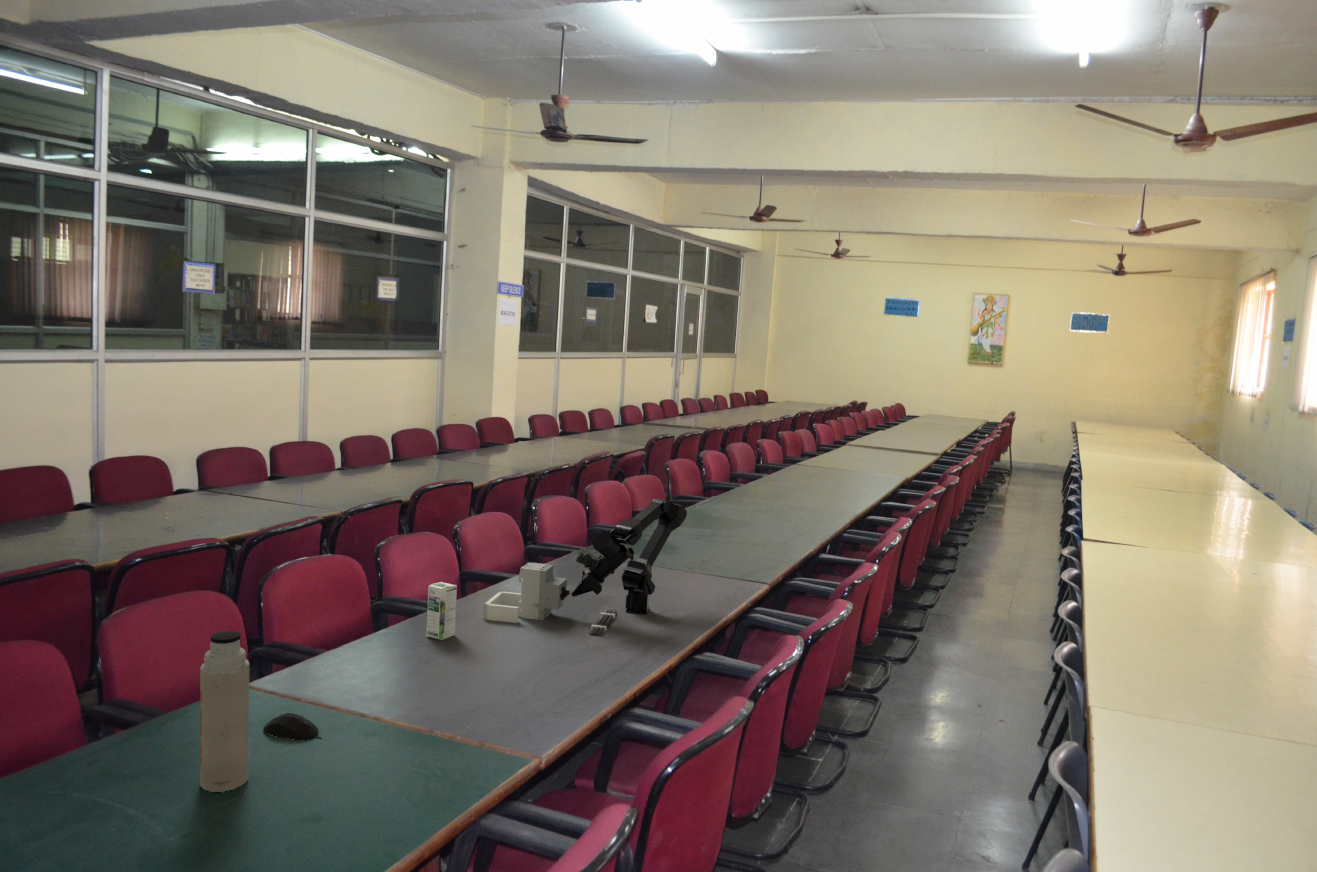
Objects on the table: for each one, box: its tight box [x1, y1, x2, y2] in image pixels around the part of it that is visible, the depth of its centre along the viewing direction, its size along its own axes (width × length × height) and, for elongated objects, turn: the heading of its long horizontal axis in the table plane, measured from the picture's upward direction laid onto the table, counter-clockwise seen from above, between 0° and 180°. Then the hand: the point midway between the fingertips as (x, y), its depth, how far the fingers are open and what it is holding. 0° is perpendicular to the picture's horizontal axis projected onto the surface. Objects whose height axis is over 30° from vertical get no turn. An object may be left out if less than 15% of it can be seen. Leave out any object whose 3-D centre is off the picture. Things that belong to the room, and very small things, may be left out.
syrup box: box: [425, 581, 458, 641], centre depth 247 cm, size 6×6×14 cm
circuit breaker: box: [518, 561, 570, 621], centre depth 269 cm, size 8×14×15 cm, turn 78°
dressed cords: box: [588, 608, 618, 637], centre depth 266 cm, size 4×22×1 cm, turn 171°
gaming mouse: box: [262, 712, 322, 741], centre depth 185 cm, size 6×15×4 cm, turn 73°
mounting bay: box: [482, 590, 521, 624], centre depth 270 cm, size 10×14×4 cm
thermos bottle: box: [199, 630, 250, 791], centre depth 162 cm, size 8×8×28 cm
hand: (572, 595), depth 269 cm, fingers closed
